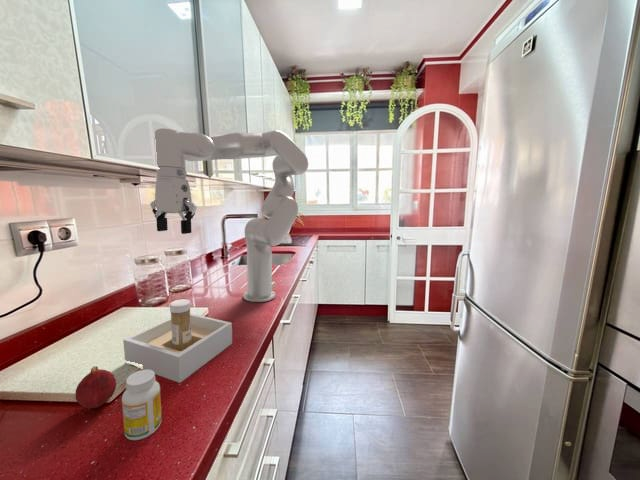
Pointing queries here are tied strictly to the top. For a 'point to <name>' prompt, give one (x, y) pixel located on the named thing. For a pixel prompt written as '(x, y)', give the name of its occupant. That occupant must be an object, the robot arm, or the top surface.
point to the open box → (172, 364)
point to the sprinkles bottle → (180, 324)
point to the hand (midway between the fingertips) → (174, 232)
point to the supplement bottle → (141, 405)
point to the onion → (95, 388)
